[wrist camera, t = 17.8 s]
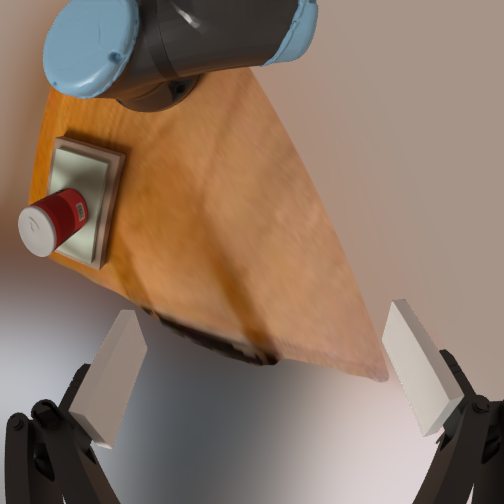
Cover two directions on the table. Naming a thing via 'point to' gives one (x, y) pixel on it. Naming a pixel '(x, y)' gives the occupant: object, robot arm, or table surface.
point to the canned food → (52, 221)
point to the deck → (87, 194)
